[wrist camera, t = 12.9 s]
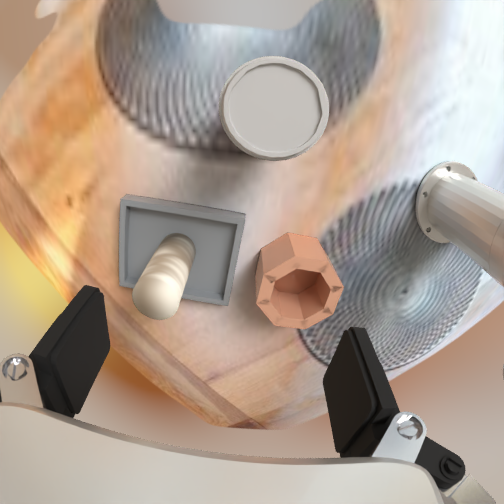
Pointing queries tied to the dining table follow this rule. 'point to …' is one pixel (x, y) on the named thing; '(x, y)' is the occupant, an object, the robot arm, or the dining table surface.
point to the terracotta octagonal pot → (296, 282)
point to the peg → (165, 277)
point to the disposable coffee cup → (273, 108)
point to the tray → (193, 226)
